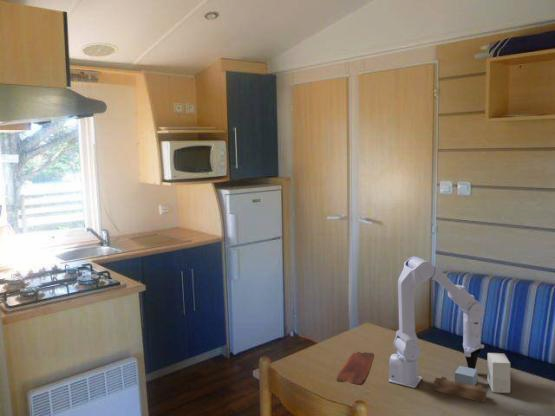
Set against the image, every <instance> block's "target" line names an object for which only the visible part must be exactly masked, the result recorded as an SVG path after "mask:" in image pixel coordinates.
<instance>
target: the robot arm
mask: <svg viewBox="0 0 555 416" xmlns="http://www.w3.org/2000/svg"><path fill="white" fill-rule="evenodd" d="M428 280H432V281H435V282H436V283H438V284H439V285H440V286H441V287H442V288H444V289H445V291H447V297H448V298H449V299H450V300H451V301H453V302H454V303H455V304H456V305H457V306H458V307H459V309H460V310H461V311H462V312H463V315H462V316H463V318H462V319H463V322H462V323H463V325H462V327H463V328H462V329H463V331H462V332H463V333H462V335H463V338H462V341H463V342H462V347H463V348H462V353H463V355H464V358H465V361H466V364H467V367H468V368H472V369H476V367H477V362H478V358H479V355H480V352H482V349H484V348H485V345H484V343H483V344H482V343H481V337H482V336H481V330H482V328H481V321H482V316H483V315H484V312H485V308H484V307H483V304H482V303H481V302H480V301H479V300H476V299H475V298H476V297H475V296H474V295H473V294H470V293H469V292H468V291H467V287H466V286H464V285H460V284H454V282H452V280H451V279H449V278H448V276H447V275H446V274H444V273H443V271H441V269H440V268H438V267H437V266H435V265H434V264H433V263H431V262H430V261H427V260H425V259H423V258H422V257H420V256H418V255H413V256H411V257H409V258H407V260H406V261H404V262H403V268H402V271H401V272H400V275H399V278H398V279H397V293H398V294H397V297H398V298H397V299H398V304H397V305H398V330H396V331H395V338H394V340H393V346H394V348H395V350H396V353H392V354H391V356H390V357H389V362H388V363H389V364H388V365H389V367H388V370H389V373H388V375H389V379H388V382H389V383H393V384H397V385H401V386H406V387H410V388H416V387H417V386H418V385H419V384H420V382H421V380H422V379H423V377H422V376H420V375H419V358H420V356H421V354H422V348H421V347H420V345H419V339H418V336H417V334H416V321H415V320H416V319H415V318H416V317H415V314H416V313H415V311H416V310H415V287H417V286H418V285H420V284H422V283H423V282H427V281H428Z"/></svg>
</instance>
